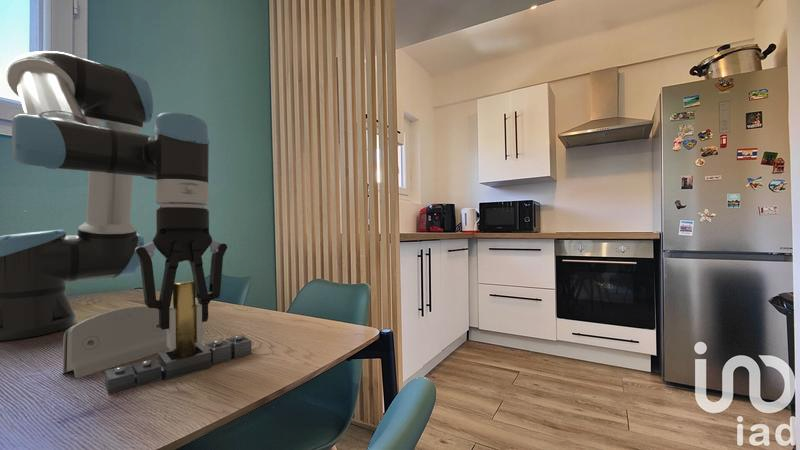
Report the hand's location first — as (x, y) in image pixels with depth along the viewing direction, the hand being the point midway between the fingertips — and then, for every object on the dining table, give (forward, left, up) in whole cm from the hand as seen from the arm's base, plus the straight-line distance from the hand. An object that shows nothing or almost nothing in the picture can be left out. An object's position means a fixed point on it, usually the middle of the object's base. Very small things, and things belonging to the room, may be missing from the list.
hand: (184, 343), depth 56 cm
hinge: (-14, -7, -4) cm, 16 cm away
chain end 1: (0, -3, -4) cm, 5 cm away
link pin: (0, 0, -2) cm, 2 cm away
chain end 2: (0, +4, -4) cm, 5 cm away
